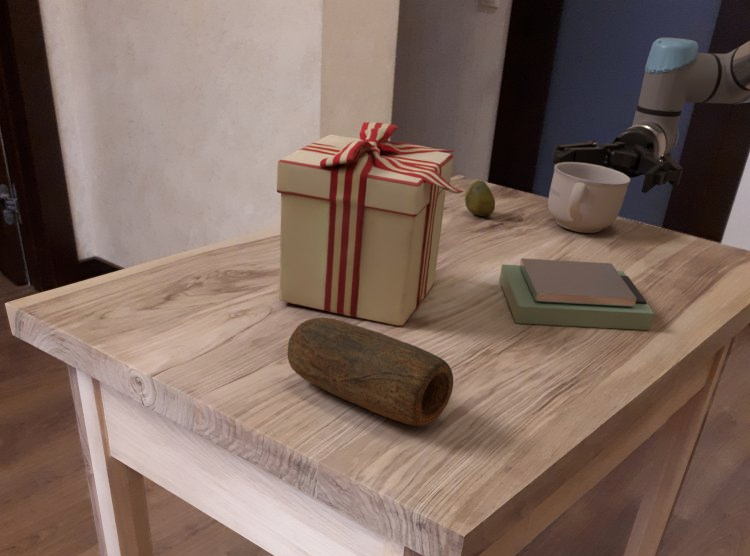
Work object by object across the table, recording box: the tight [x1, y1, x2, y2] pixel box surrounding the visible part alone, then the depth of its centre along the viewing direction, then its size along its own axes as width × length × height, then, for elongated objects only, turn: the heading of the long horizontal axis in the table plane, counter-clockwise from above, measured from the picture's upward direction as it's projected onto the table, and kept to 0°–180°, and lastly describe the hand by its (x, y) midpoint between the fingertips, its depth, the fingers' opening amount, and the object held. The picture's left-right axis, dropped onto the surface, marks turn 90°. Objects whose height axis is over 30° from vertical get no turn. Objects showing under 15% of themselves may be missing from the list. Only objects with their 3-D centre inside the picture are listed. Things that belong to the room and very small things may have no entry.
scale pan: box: [519, 257, 637, 307], centre depth 91 cm, size 11×11×1 cm
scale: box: [499, 264, 655, 331], centre depth 92 cm, size 15×13×2 cm
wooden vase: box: [287, 317, 454, 427], centre depth 69 cm, size 15×7×7 cm, turn 55°
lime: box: [464, 179, 496, 217], centre depth 117 cm, size 4×5×5 cm
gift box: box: [276, 121, 464, 327], centre depth 87 cm, size 17×18×17 cm
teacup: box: [547, 162, 631, 234], centre depth 114 cm, size 14×11×8 cm
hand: (600, 174), depth 118 cm, fingers open, 13 cm apart
